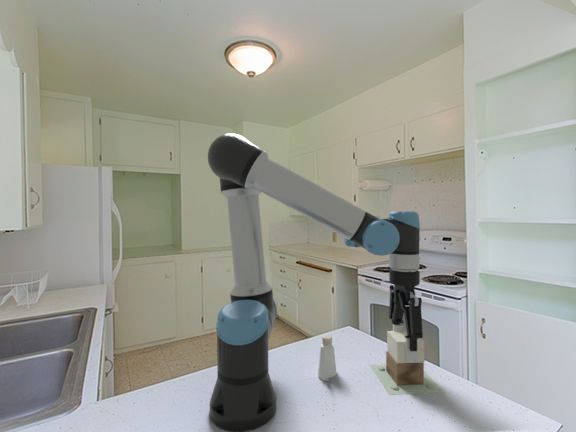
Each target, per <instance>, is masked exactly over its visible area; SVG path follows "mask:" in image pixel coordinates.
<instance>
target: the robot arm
mask: <svg viewBox="0 0 576 432" xmlns="http://www.w3.org/2000/svg"><path fill="white" fill-rule="evenodd" d="M207 163H208V166H209V168H210V170H211V171H212V172H213V174H214V175H215V176H217V177H218V179H219V187H220V193H221V194H222V195H223V196H224V197H225V198H226V201H227V202H226V203H227V208H228V209H227V213H228V221H229V233H230V243H231V244H230V246H231V253H232V255H231V256H232V265H233V266H232V267H233V275H234V277H233V278H234V286H233V288H232V289H231V290H230V291H229V295H230V303H227V304H225V305H224V306H223V307H222V308H221V309H220V310H219V312H218V314H217V319H216V324H215V325H216V328H215V331H216V339H217V340H216V341H217V343H216V348H217V349H216V351H217V353H216V354H217V357H216V359H217V363H216V364H217V378H216V380H215V384H214V388H213V391H212V394H211V397H210V401H209V417H210V419H211V421H212V422H213V424H214V425H215V426H217V427H218V428H220V429H222V430H225V431H230V432H245V431H250V430H253V429H254V430H255V429H257V428H259V427H261V426H264V425H265V424H267V422H269V421H270V420H271V419H272V417H273V416H275V415H274V414H275V413H276V410H277V395H276V391H275V389H274V385H273V382H272V380H271V377H270V373H269V343H270V342H269V341H270V336H271V333H272V331H273V327H274V324H275V322H276V320H277V319H276V318H277V316H278V315H277V314H278V313H277V311H278V310H277V305H276V302H275V300H274V294H273V286H272V285H271V284H270V283H268V281H267V278H266V277H267V276H266V268H265V267H266V266H265V264H266V263H265V256H264V255H265V254H264V243H263V233H262V220H261V213H260V212H261V210H260V201H259V200H260V198H259V196H260V194H261V193H262V194H265V195H266V196H268V197H270V198H272V199H274V200H275V201H278V202H279V203H281V204H283V205H284V206H286V207H288V208H290V209H292V210H293V211H295V212H297V213H299V214H300V215H303V216H305V217H306V218H308V219H310V220H312V221H314V222H315V223H317V224H319V225H321V226H323V227H324V228H327V229H329V230H330V231H332V232H334V234H335V233H336V234H338V235H339V236H341V237H343V240H344V244H345V246H346V247H349V248H354V249H355V248H363V249H364V250H366V251H367V252H368V253H369V254H372V255H374V256H381V257H382V256H388V266H389V268H390V269H389V270H388V271H389V272H388V273H389V274H388V277H389V284H391V285H389V307H388V308H389V311H388V313H389V314H388V319H389V320H391V323H392V331H404V325H403V324H405V328H406V330H407V336H405V338H406V363H417V339H418V338H421V339H423V337H424V336H423V335H424V333H423V319H422V302H423V301H422V298H421V297H417V296H416V291H415V287H417V286H419V285H420V282H421V281H420V279H421V278H420V274H421V272H420V271H419V269H420V260H421V257H420V236H421V235H420V234H421V233H420V232H421V227H420V226H421V224H420V217H419V216H420V215H419V214H418V212H416V211H414V210H413V211H412V210H411V211H403V210H402V211H390V212H389V213H388V218H379V217H376V216H375V215H373V214H371V213H369V212H368V211H365V210H364V209H362V208H360V207H359V206H357V205H355V204H353V203H352V202H349V201H348V200H345V199H344V198H342V197H340V196H339V195H337V194H335V193H333V192H331V191H330V190H327V189H326V188H324V187H322V186H320V185H319V184H317V183H315V182H313V181H311V180H309V179H307V178H306V177H304V176H301V174H298V173H296V171H295V172H294V171H293V170H291V169H289V168H287V167H285V166H284V165H282V164H280V163H278V162H276V161H274V160H273V159H271V158H269V155H268V153H267V151H266V150H263V149H262V148H260V147H258V146H257V145H255V144H253V143H252V142H251V141H249V140H248V139H247V138H246V137H244V136H243V135H241V134H236V133H225V134H222V135H220V136H218V137H216V138H215V139H214V140H213V141H212V142H211V144H210V146H209V148H208V151H207ZM403 318H404V320H403Z"/></svg>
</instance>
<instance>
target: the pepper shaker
mask: <svg viewBox="0 0 576 432" xmlns="http://www.w3.org/2000/svg"><path fill="white" fill-rule="evenodd" d="M321 339H322V340H321V341H322V343H321V344H320V348H319V359H318V368H317V369H318V370H317V376H318V379H320V380H322V381H324V382H331V378H334V377H335V376H337V365H336V354H335V347H334V344H333V337H332V335H330V334H323V335H322V336H321Z"/></svg>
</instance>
